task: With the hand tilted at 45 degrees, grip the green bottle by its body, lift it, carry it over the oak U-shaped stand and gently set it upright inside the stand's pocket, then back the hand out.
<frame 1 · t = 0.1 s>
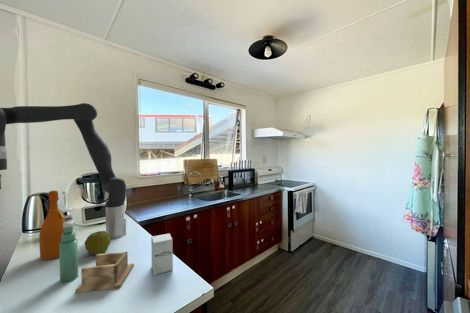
wine bottle: (54, 255, 93), on the counter
supplement box: (162, 269, 81), on the counter
french press: (63, 233, 120), on the counter
apple: (98, 253, 95), on the counter
green bottle: (69, 278, 75), on the counter
U stand: (107, 277, 75), on the counter
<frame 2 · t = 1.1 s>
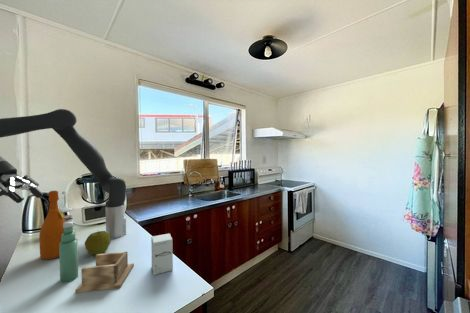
hand: (31, 198, 73), 31 cm above the counter, tool tilted 45°, fingers open, 8 cm apart
nothing on the counter moved.
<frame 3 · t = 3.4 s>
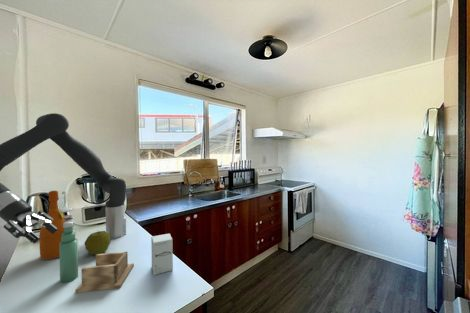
hand: (47, 236, 74), 16 cm above the counter, tool tilted 45°, fingers open, 8 cm apart
nothing on the counter moved.
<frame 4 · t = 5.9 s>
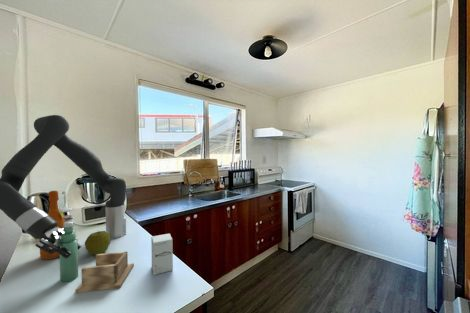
hand: (74, 252, 75), 10 cm above the counter, tool tilted 45°, fingers closed on green bottle, 5 cm apart
green bottle: (69, 278, 75), on the counter, touching gripper
everything else where it was.
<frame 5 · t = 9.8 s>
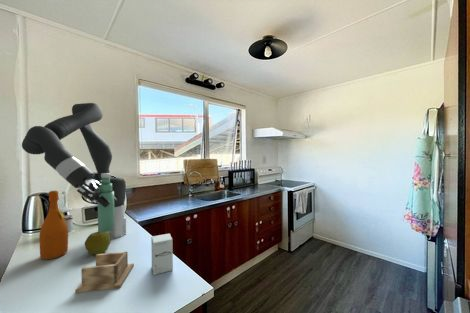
hand: (111, 203, 75), 28 cm above the counter, tool tilted 45°, fingers closed on green bottle, 5 cm apart
green bottle: (106, 229, 75), point 18 cm above the counter, touching gripper
everything else where it was.
when the fingers open (12 cm above the counter, at t = 14.0 s): green bottle drops 1 cm, resting on U stand.
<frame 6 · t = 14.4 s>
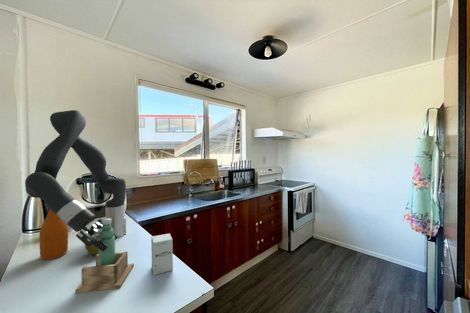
hand: (111, 244, 75), 13 cm above the counter, tool tilted 45°, fingers open, 8 cm apart
green bottle: (107, 275, 75), point 1 cm above the counter, touching U stand
everything else where it was.
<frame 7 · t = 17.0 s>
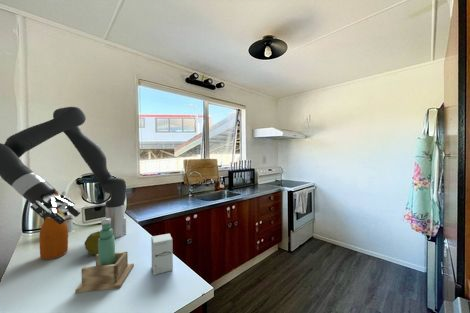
hand: (71, 218, 73), 23 cm above the counter, tool tilted 45°, fingers open, 8 cm apart
nothing on the counter moved.
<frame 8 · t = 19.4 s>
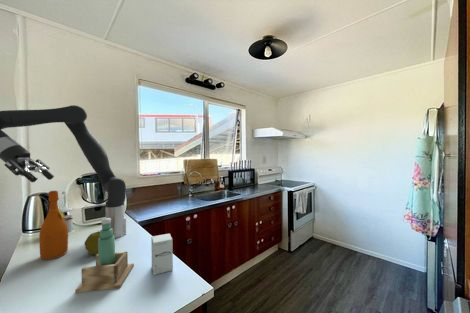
hand: (44, 179, 80), 37 cm above the counter, tool tilted 45°, fingers open, 8 cm apart
nothing on the counter moved.
at the end: green bottle 0.1 cm off-centre on the U stand, point 1.0 cm above the U stand's base; green bottle tilted 1°; the gripper is holding nothing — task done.
